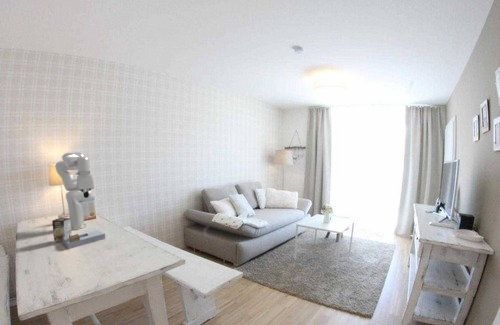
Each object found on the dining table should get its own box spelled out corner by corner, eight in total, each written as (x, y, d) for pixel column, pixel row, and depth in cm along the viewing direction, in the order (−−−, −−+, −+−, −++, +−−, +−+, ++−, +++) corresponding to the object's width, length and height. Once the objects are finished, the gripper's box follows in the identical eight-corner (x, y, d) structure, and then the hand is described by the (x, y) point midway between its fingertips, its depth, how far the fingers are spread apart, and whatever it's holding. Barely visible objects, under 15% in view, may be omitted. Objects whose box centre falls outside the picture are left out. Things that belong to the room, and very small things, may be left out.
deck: (63, 243, 168) (62, 237, 168) (98, 233, 184) (98, 228, 184) (68, 249, 158) (67, 243, 157) (105, 238, 174) (105, 233, 174)
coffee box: (53, 242, 170) (51, 220, 169) (61, 238, 176) (59, 217, 175) (65, 242, 169) (63, 220, 168) (72, 239, 176) (70, 217, 174)
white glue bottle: (96, 217, 229) (94, 195, 228) (96, 218, 224) (94, 196, 223) (78, 220, 221) (76, 198, 220) (78, 221, 216) (76, 199, 215)
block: (70, 241, 164) (69, 236, 164) (78, 238, 168) (77, 233, 167) (71, 243, 161) (70, 238, 160) (80, 240, 164) (79, 235, 164)
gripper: (73, 175, 171) (75, 200, 173) (97, 172, 182) (99, 196, 184) (70, 174, 176) (73, 198, 178) (94, 172, 187) (96, 195, 189)
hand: (86, 197), depth 181 cm, fingers closed
